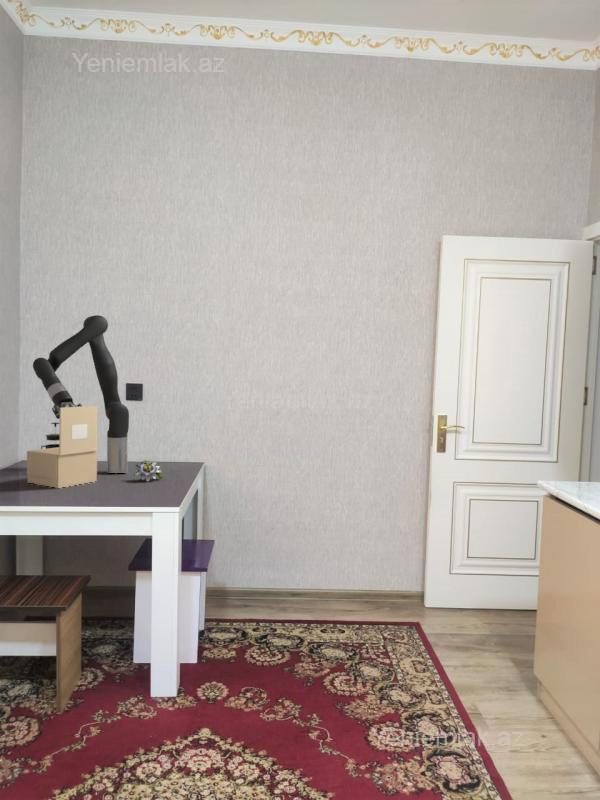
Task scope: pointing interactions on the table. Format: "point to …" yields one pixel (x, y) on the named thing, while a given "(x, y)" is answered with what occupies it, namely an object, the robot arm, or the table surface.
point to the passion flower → (148, 470)
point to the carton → (61, 467)
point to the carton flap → (78, 429)
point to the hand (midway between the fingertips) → (77, 424)
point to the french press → (52, 437)
